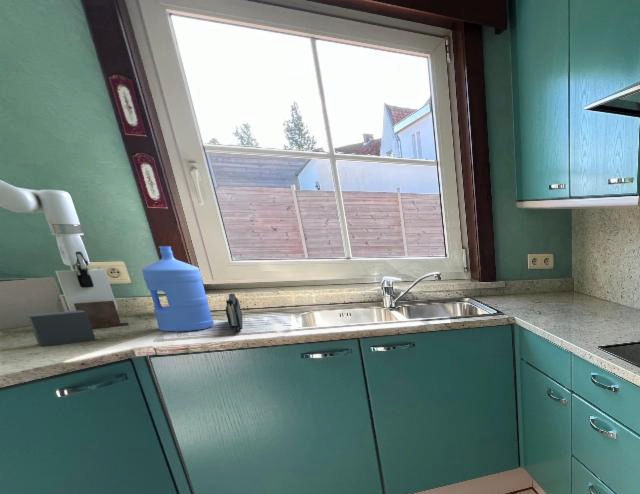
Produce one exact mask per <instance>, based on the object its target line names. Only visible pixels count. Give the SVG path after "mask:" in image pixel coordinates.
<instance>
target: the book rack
mask: <svg viewBox="0 0 640 494" xmlns="http://www.w3.org/2000/svg"><path fill="white" fill-rule="evenodd" d="M58 296H59V299H60V302H61V305H62V307H63V310H64V312H67V311H70V310H69V307H68V304H67V302H66V299H65V296H64V294H58ZM74 306H75V309H76V311H79V310H82V311H85V312H86V313H87V316H88V319H89V321H90V324H91V327H92V330H96V329H106V328H115V327H124V325H125V326H129V322H128V321H126V320H122V319H120V317H119V314H118V309H117V310H116V307H115V304H114V301H99V302H86V303H74Z"/></svg>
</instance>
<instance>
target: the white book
mask: <svg viewBox="0 0 640 494" xmlns="http://www.w3.org/2000/svg"><path fill="white" fill-rule="evenodd" d="M88 271H89V274H90V276H91V279H92V282H93V285H94V287H84V288H82V287H81V286H80V283H79V280H78V278H77V276H78V274H77V271H76V270H73V269H71V270H67V269H66V270H55V275H56V277H57V279H58V282H59V284H60V288H61V290H62V293H63V294H62V295H64V296H65V299H66V302H67V304H68V307H69V310H70V311H76V309H75V306H74V303H86V302H99V301H114V304H115V307H116V310H117V311H118V310H119V308H118V305H117V302H116V298H115V296H114V292H113V290H112V287H111V284H110V281H109V278H108V275H107V271H106V269H105V268H94V269H88Z"/></svg>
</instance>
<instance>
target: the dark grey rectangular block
mask: <svg viewBox="0 0 640 494" xmlns="http://www.w3.org/2000/svg"><path fill="white" fill-rule="evenodd" d="M26 317H27V319H28V322H29V325H30V327H31V330H32V332H33V335H34V337H35V339H36V342H37V345H39V346H41V347H51V346H59V345H66V344H67V345H68V344H75V343H84V342H91V341H92V342H93V341H96V340H97V338H96V336H95V333H94V329H92V327H91V324H90V321H89V319H88V316H87V313H86V312H85V311H82V310H79V311H67V312H65V311H55V312H45V313H31V314H26Z"/></svg>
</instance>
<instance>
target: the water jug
mask: <svg viewBox="0 0 640 494" xmlns="http://www.w3.org/2000/svg"><path fill="white" fill-rule="evenodd" d="M158 248H159V250H160V251H159V252H160V255H161V259H159V260H158V261H155V262H153V263H151V264H149V265H147V266H144V267H143V268H142V269H141V272H142V277H143V280H144V282H145V285H146V288H147V290H149V293H150V296H151V300H152V303H153V306H154V309H153V311H154V315H155V318H156V321H157V327H158V329H159V330H161V331H163V332H168V331H174V332H173V333H178V332H179V333H181V332H182V333H183V332H193V331H195V332H196V331H201V330H206V329H210V328H212V327H213V326H214V325H215V324H214V319H213V317H212V313H211V309H210V305H209V299H208V297H207V294H206V290H205V286H204V283H203V276H202V273H201V272H200V269H199V267H198V266H195V265H193V264H189V263H187V262H184V261H181V260H178V259H176V258H175V257H174V253H173V251H172V246H169V245H161V246H158ZM158 292H163V293H164V294H165V298H166V300H167V304H168V305H167V306H163V305H161V301H160V297H159V294H158Z"/></svg>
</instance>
